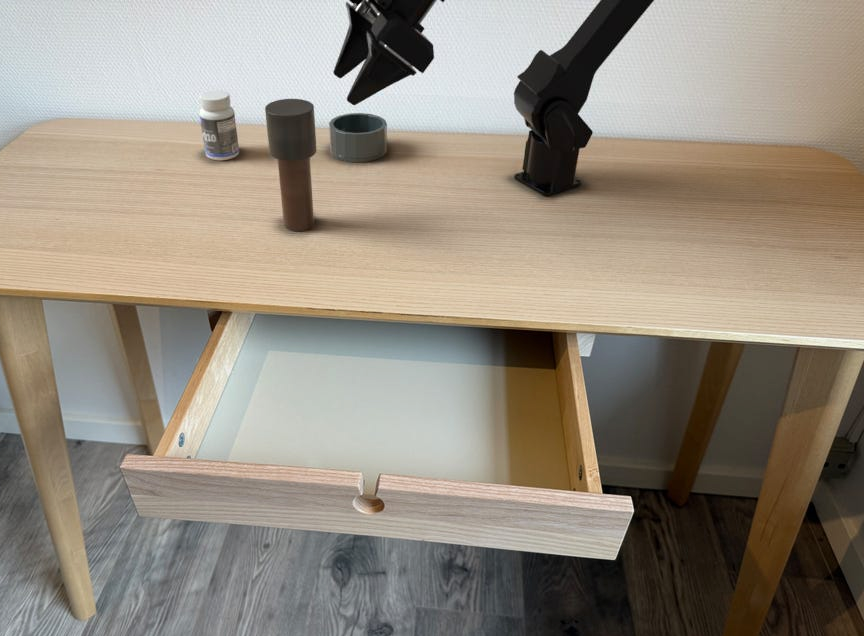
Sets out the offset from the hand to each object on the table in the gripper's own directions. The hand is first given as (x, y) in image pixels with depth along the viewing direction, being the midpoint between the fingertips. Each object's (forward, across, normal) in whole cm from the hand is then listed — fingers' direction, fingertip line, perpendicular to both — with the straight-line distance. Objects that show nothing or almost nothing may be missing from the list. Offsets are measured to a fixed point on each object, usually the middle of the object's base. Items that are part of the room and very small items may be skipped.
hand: (343, 88), depth 81 cm
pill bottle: (+20, -18, -3) cm, 27 cm away
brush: (+15, +5, +3) cm, 16 cm away
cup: (+8, -15, +12) cm, 21 cm away
